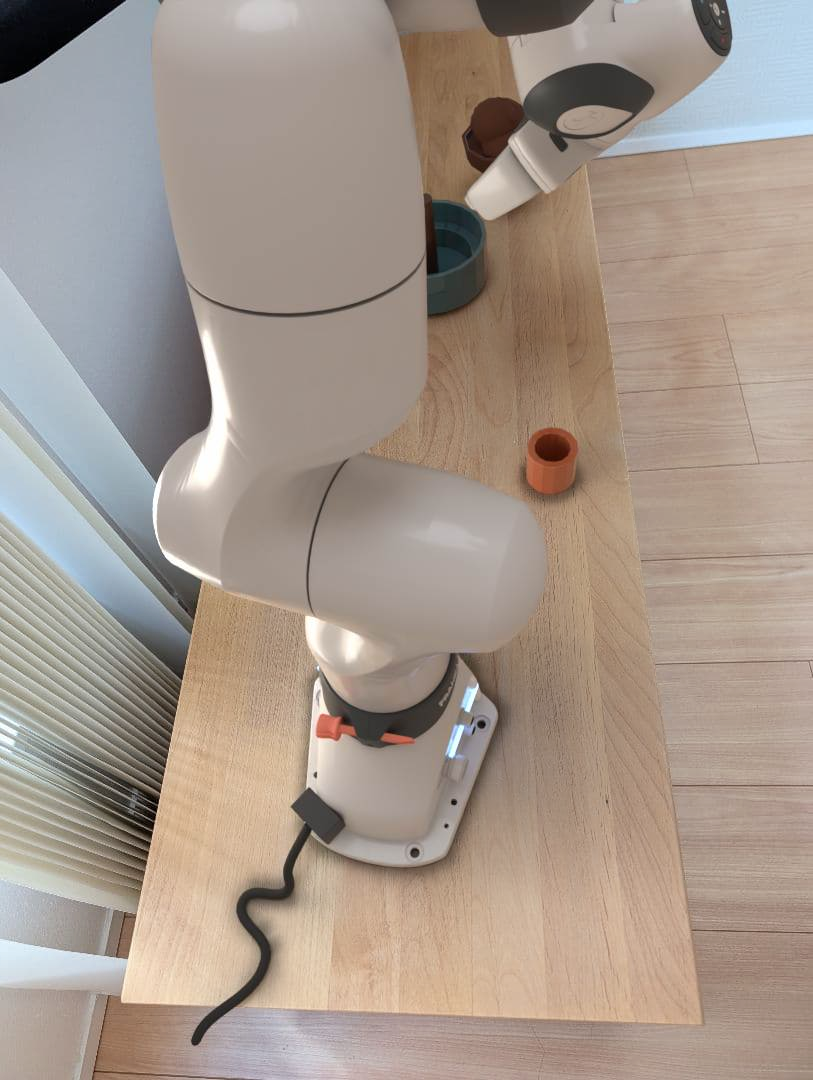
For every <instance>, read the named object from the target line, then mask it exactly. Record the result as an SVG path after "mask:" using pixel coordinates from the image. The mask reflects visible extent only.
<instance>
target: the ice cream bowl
mask: <svg viewBox="0 0 813 1080" xmlns="http://www.w3.org/2000/svg"><path fill="white" fill-rule="evenodd" d="M524 116H525V114H524V112H523V107H522V104H521V103H519V102H518V101H516V100H514V99H512V98H510V97H503V96H502V97H501V96H495V97H488V98H486V99H484V100H482V101H481V102H479V103H478V104H477V105H476V106H475V107H474V108H473V113H472V114H471V116H470V122H469V126H468V127H467V128H466V129H465V130H464V132H463V133H462V134H461V139H462V144H463V147H464V151H465V155H466V159H467V161H468V163H469V165H470V166H471V167H472V168H473V169H475V170H477V171H479V172H480V173H481V174H483V173H484V172H485V171H486V170H487V169H488V167H489V166H490V165H491V164H492V163H493V162H494V161H495V159H496V158H497V157H498V156H499V155H500V154H501V152H502V151H503V150H504V149H505V148H506V147H507V146H508V140H509V138H510V137H511V135H512V134H513V133H514V131H515V129H516V128H517V127H518V125H519V124H520V123H521V121H522V119H523V118H524Z"/></svg>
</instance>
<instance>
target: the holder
mask: <svg viewBox="0 0 813 1080" xmlns="http://www.w3.org/2000/svg"><path fill="white" fill-rule="evenodd" d="M578 455H579V445H578V441H577V439H576V438H575V437H574V435H573V434H572V433H571V432H569V431H568V430H565V429H563V428H561V427H553V426H552V427H551V426H550V427H546V428H541V429H539V430H537V431H536V432H535V433H533V434H532V435H531V436H530V438H529V440H528V442H527V445H526V465H525V467H526V468H525V473H526V480H527V482H528V484H529V485H530V487H532V489H533V490H535V491H537V492H538V493H541V494H543V495H557V494H560V493H563V492H565V491H567V490H568V489H569V488H570V487H571V486H572V484H573V483H574V480H575V477H576V472H577V463H578V457H579V456H578Z"/></svg>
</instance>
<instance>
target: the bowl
mask: <svg viewBox="0 0 813 1080" xmlns="http://www.w3.org/2000/svg"><path fill="white" fill-rule="evenodd" d="M432 202H433V213H434V223H435V233H436V244H437V254H438V265H439V273H436V274H430V275H426V276H427V315H436V314H442V313H448V312H451V311H453V310H455V309H458V308H461V307H463V306H465V305H467V303H469V302H470V301H471V300H473V299H474V298H475V297H477V296H478V294H479V293H480V292H481V290H482V288H483V287H484V286H485V284H486V281H487V277H488V273H489V265H488V233H487V229H486V225H485V221H483V220H484V219H483V218H482V217H481V216H480V215H479V213H478V212H477V211H476V210H472V209H471V208H470V206H468V205H465V204H463V203H460V202H457V201H453V200H450V199H439V198H438V199H437V198H436V199H435V198H432Z"/></svg>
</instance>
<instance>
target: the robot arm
mask: <svg viewBox="0 0 813 1080" xmlns="http://www.w3.org/2000/svg"><path fill="white" fill-rule="evenodd" d="M157 1H158V3H159V4H160V5H159V8H158V11H157V14H156V17H155V19H154V23H153V28H152V33H151V42H150V57H151V58H150V59H151V72H152V73H151V75H152V91H153V106H154V114H155V126H156V134H157V142H158V143H157V144H158V151H159V157H160V164H161V171H162V172H161V173H162V177H163V178H162V179H163V184H164V190H165V197H166V201H167V206H168V211H169V217H170V222H171V225H172V226H171V227H172V231H173V236H174V240H175V245H176V248H177V253H178V257H179V261H180V266H181V269H182V272H183V273H182V274H183V276H184V280H185V283H186V288H187V291H188V295H189V299H190V303H191V307H192V311H193V315H194V319H195V323H196V326H197V330H198V336H199V340H200V343H201V349H202V354H203V359H204V362H205V368H206V372H207V378H208V382H209V388H210V394H211V395H210V396H211V415H210V420H209V423H208V424H207V427H205V429H203V430H202V431H200V432H198V433H196V434H194V435H192V436H191V437H189V438H188V439H187V440H186V441H184V442H183V443H182V444H181V445H180V446H179V447H178V448H177V449H176V450H175V452H174V453H173V454H172V455H171V456H170V457H169V459H168V460H167V461H166V463H165V465H164V467H163V468H162V470H161V473H160V475H159V477H158V480H157V482H156V485H155V489H154V493H153V501H152V522H153V528H154V533H155V537H156V540H157V543H158V545H159V548H160V550H161V552H162V553H163V555H164V557H165V558H166V559H167V560H168V562H170V563H171V564H172V565H174V566H176V567H177V568H179V569H181V570H182V571H185V572H186V573H188V574H190V575H192V576H194V577H195V578H197V579H198V580H201V581H202V582H205V583H206V584H209V585H211V586H213V587H215V588H217V589H218V590H221V591H223V592H224V593H227V594H229V595H232V596H235V597H239V598H242V599H246V600H248V601H253V602H257V603H260V604H264V605H266V606H267V605H268V606H270V607H275V608H278V609H282V610H286V611H289V612H291V613H292V612H293V613H296V614H299V615H304V616H305V619H304V633H305V639H306V643H307V646H308V648H309V651H310V653H311V655H312V656H313V658H314V660H315V661H316V663H317V665H318V666H317V667H316V669H317V670H318V675H319V676H318V677H317V678H316V680H315V682H314V685H313V696H312V709H311V722H310V734H309V746H308V759H307V772H306V784H305V786H306V787H305V790H304V791H303V792H302V793H301V795H299V796H298V798H297V799H296V800H295V801H294V802H293V803H292V804H291V805H289V807H290V808H291V809H292V810H293V811H294V813H295V814H297V816H298V817H299V818H300V819H301V820H302V821H303V825H302V828H301V830H300V831H299V833H298V835H297V836H296V839H295V840H294V842H293V844H292V845H291V848H290V850H289V851H288V853H287V856H286V859H285V861H284V864H283V868H282V877H283V881H284V886H283V887H281V888H277V889H276V888H268V887H267V888H266V887H251V888H248V889H246V890H245V891H243V892H242V894H241V895H240V896H239V898H238V900H237V902H236V907H235V908H236V910H235V912H236V916H237V919H238V921H239V922H240V924H241V926H242V927H243V928H244V929H245V930H246V931H247V933H248V934H249V935H250V936H251V937H252V938H253V940H254V941H255V942H256V944H257V946H258V948H259V951H260V959H259V962H258V966H257V968H256V970H255V972H254V973H253V975H252V976H251V978H250V979H249V980H248V981H247V982H246V983H245V985H244V986H242V987H241V988H240V989H239V990H238V991H237V992H235V993H234V994H233V995H231V996H230V997H228V998H227V999H226V1000H225V1001H223V1002H222V1003H220V1004H219V1005H218V1006H216V1007H215V1008H214V1009H212V1010H211V1011H210V1012H209V1013H208V1014H206V1015H205V1016H204V1017H203V1018H202V1020H201V1021H200V1022H199V1023H198V1025H196V1027H195V1029H194V1031H193V1033H192V1036H191V1039H190V1043H191V1045H192V1046H194V1047H196V1046H199V1045H200V1043H201V1042H202V1040H203V1038H204V1036H205V1034H206V1033H207V1031H208V1030H209V1029H210V1028H211V1027H212V1026H213V1025H214V1024H215V1023H216V1022H218V1021H219V1020H220V1019H221V1018H223V1017H224V1016H225V1015H227V1014H228V1013H229V1012H231V1011H233V1009H235V1008H236V1007H237V1006H239V1005H240V1004H241V1003H242V1002H244V1001H245V1000H246V999H247V998H248V997H249V996H250V995H252V993H254V992H255V990H257V988H258V987H259V985H260V984H261V983H262V981H263V980H264V978H265V976H266V974H267V972H268V970H269V966H270V962H271V957H272V950H271V946H270V943H269V941H268V938H267V937H266V936H265V934H264V932H262V930H261V929H260V928H259V927H258V926H257V925H256V923H255V922H254V921H253V920H252V919H251V918H250V916H249V914H248V911H247V906H248V903H249V902H250V900H252V899H265V900H273V901H278V900H283V899H286V898H288V897H289V896H291V894H292V893H293V891H294V890H295V888H296V887H295V878H294V868H295V865H296V862H297V859H298V857H299V855H300V854H301V852H302V849H303V848H304V846H305V844H306V842H307V841H308V839H309V838H310V835H311V836H312V838H314V839H315V840H316V841H317V842H319V843H320V844H321V845H322V846H324V847H325V848H327V849H329V850H331V851H333V852H334V853H337V854H338V855H341V856H344V857H347V858H349V859H352V860H355V861H359V862H362V863H367V864H371V865H376V866H383V867H392V868H416V867H423V866H426V865H430V864H433V863H436V862H438V861H441V860H443V859H444V858H445V857H446V856H447V855H448V854H449V851H450V849H451V847H452V844H453V841H454V839H455V836H456V833H457V831H458V829H459V826H460V823H461V820H462V818H463V815H464V812H465V810H466V807H467V804H468V802H469V798H470V797H471V794H472V791H473V788H474V785H475V782H476V780H477V778H478V775H479V772H480V769H481V767H482V764H483V762H484V759H485V756H486V753H487V750H488V748H489V746H490V743H491V741H492V738H493V734H494V732H495V729H496V727H497V724H498V721H499V712H498V708H497V707H496V705H495V704H494V703H493V702H492V700H491V699H489V698H488V696H486V695H485V694H484V693H483V692H481V688H480V686H479V685H480V684H479V682H478V680H477V678H476V676H475V675H474V673H473V672H472V670H471V669H470V668H469V667H468V665H467V664H466V663H465V661H464V660H463V659H462V658H461V656H460V655H459V654H463V653H464V654H465V653H470V654H471V653H472V654H473V653H475V654H479V653H481V654H491V653H493V652H494V651H497V650H499V649H501V648H502V647H504V646H505V645H507V644H508V643H510V642H511V641H512V640H513V639H514V638H515V637H516V636H517V635H519V634H520V633H521V632H522V631H523V629H524V628H525V627H527V625H528V624H529V622H530V621H531V619H532V618H533V616H534V615H535V614H536V611H537V609H538V608H539V605H540V603H541V602H542V601H541V600H542V599H543V596H544V593H545V589H546V586H547V581H548V574H549V573H548V572H549V553H548V547H547V542H546V538H545V534H544V531H543V529H542V526H541V523H540V522H539V520H538V518H537V516H536V514H535V512H534V510H533V509H532V508H531V506H530V505H529V503H528V502H527V501H524V500H522V499H520V498H519V497H515V496H513V495H511V494H509V493H507V492H504V491H502V490H500V489H498V488H496V487H494V486H491V485H489V484H486V483H484V482H481V481H479V480H477V479H474V478H472V477H469V476H467V475H464V474H462V473H461V472H455V471H451V470H446V469H442V468H438V467H432V466H428V465H423V464H418V463H414V462H409V461H406V460H405V461H404V460H401V459H396V458H391V457H386V456H383V455H382V456H381V455H377V454H372V453H367V452H366V451H368V450H369V449H371V448H372V447H375V446H376V445H378V444H379V443H381V442H382V441H383V440H385V439H386V438H387V437H389V436H390V435H392V434H393V433H394V432H395V431H397V430H398V429H399V428H401V426H402V425H403V424H404V423H405V422H406V421H407V420H408V419H409V418H410V417H411V415H412V414H413V412H414V411H415V409H416V408H417V406H418V405H419V403H420V400H421V398H422V395H423V393H424V391H425V388H426V384H427V380H428V375H429V334H428V333H429V331H428V329H429V328H428V314H427V276H426V233H425V209H424V197H423V193H424V190H423V189H424V187H423V186H424V185H423V177H422V176H423V175H422V165H421V158H420V149H419V142H418V133H417V127H416V119H415V114H414V109H413V103H412V96H411V90H410V86H409V85H410V84H409V80H408V75H407V70H406V66H405V62H404V57H403V52H402V48H401V43H400V38H399V34H398V32H399V33H400V32H403V33H406V32H408V33H410V32H411V33H412V32H413V33H436V32H437V33H438V32H460V31H461V32H462V31H473V30H485V29H487V30H488V32H489V33H490V34H492V36H495V37H498V38H506V40H507V44H508V49H509V54H510V61H511V65H512V69H513V75H514V79H515V84H516V87H517V88H516V89H517V92H518V96H519V100H520V104H521V105H522V107H523V112H524V114H525V116H524V118H523V119H522V121H521V123H520V124H519V125H518V127H517V128H516V129H515V131H514V133H513V134H512V135H511V137H510V138H509V140H508V146H507V147H506V148H505V149H504V150H503V151H502V152H501V154H500V155H499V156H498V157H497V158H496V159H495V161H494V162H493V163H492V164H491V165H490V166H489V167H488V169H487V170H486V171H485V172H484V173H481V175H480V176H479V178H478V179H476V181H475V182H474V183H473V184H472V185H471V186H470V187H469V189H468V190H467V192H466V195H465V197H464V202H465V203H466V204H467V206H468V207H469V208H470V209H472V210H474V211H475V212H476V213H477V214H478V215H479V217H480V218H481V219H482V220H485V221H493V220H495V219H498V218H500V217H501V216H503V215H505V214H508V213H509V212H511V211H513V210H515V209H516V208H518V207H520V206H521V205H523V204H525V203H526V202H528V201H530V200H531V199H533V198H534V197H536V196H537V195H539V193H541V192H543V193H544V194H546V195H549V194H551V193H553V192H554V191H556V190H557V189H558V188H560V187H561V186H563V184H565V183H566V182H567V181H568V180H569V179H570V178H571V177H572V176H573V175H574V174H575V173H576V172H577V171H578V170H580V169H581V168H582V167H584V166H585V165H587V164H588V163H590V162H591V161H593V160H594V159H596V158H597V157H599V156H601V154H603V153H604V152H605V151H607V150H608V149H610V148H611V147H613V146H614V145H616V144H617V143H619V142H621V141H622V140H624V139H625V138H626V137H628V135H630V134H631V132H632V131H633V130H634V129H635V127H636V126H637V125H639V124H640V123H642V122H645V121H649V120H652V119H655V118H656V117H658V116H659V115H661V114H663V113H665V112H666V111H667V110H669V109H670V108H672V107H673V106H675V105H676V104H678V103H679V102H681V101H682V100H683V99H684V98H685V97H687V96H688V95H689V94H691V93H692V92H693V91H695V90H696V89H697V88H698V87H700V85H702V84H703V83H705V82H706V81H707V80H708V79H709V78H710V77H711V76H712V75H713V74H715V72H717V70H718V69H719V68H721V66H722V65H723V64H724V63H725V61H726V60H727V59H728V57H729V55H730V53H731V49H732V44H733V43H732V42H733V28H732V21H731V16H730V11H729V6H728V2H727V0H638V1H636V2H630V3H628V2H627V3H625V1H624V0H157ZM479 723H484V724H485V726H484V727H483V728H480V727H478V725H479ZM453 802H456V804H455V805H454V804H452V803H453ZM446 826H447V827H446ZM413 850H418V851H419V853H418V855H417V857H413V856H412V852H413Z"/></svg>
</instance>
